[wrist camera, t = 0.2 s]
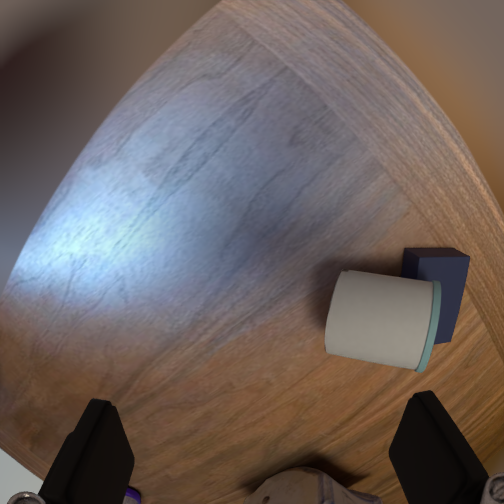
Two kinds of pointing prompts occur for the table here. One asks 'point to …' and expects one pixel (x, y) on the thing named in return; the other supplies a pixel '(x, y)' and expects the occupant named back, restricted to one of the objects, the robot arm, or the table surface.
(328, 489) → the potted plant
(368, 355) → the beige cylinder teal cap
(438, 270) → the dark rectangular block
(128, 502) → the bottle
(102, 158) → the table surface
